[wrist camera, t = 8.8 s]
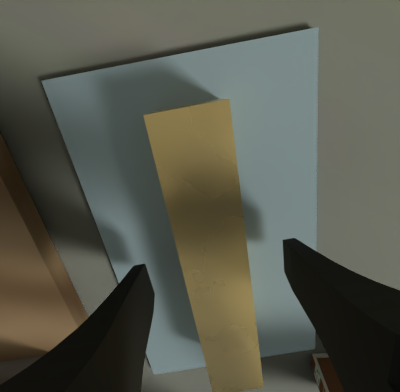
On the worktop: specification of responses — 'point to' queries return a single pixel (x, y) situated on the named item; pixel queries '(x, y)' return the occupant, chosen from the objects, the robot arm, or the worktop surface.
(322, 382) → the food container
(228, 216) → the brass rail
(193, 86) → the rubber mat
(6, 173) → the hook stand
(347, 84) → the worktop surface
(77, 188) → the worktop surface
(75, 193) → the worktop surface
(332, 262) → the robot arm
